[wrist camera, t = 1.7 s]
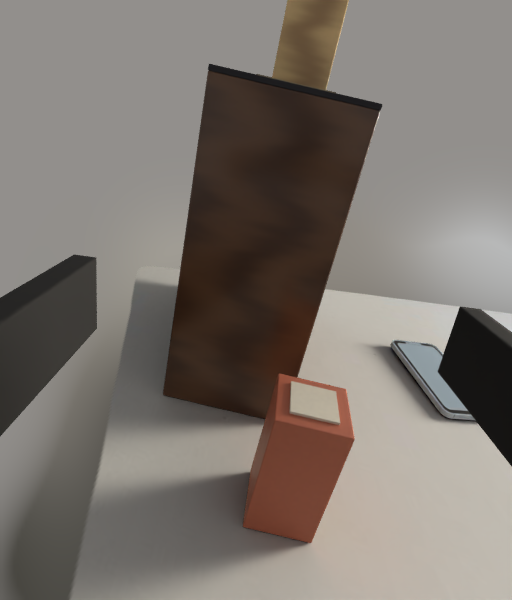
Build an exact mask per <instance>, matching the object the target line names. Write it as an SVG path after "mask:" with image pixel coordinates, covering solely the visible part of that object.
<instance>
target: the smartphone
mask: <svg viewBox="0 0 512 600" xmlns="http://www.w3.org/2000/svg"><path fill="white" fill-rule="evenodd" d="M391 347H392V348H393V350H394V351H395V352H396V354H397V355H398V357H399V358H400V359H401V361H402V362H403V363H404V365H405V366H406V367H407V369H408V370H409V371H410V373H411V374H412V375H413V377H414V378H415V380H416V381H417V382H418V384H419V385H420V386H421V388H422V389H423V390H424V392H425V393H426V394H427V396H428V397H429V398H430V400H431V401H432V402H433V404H434V405H435V407H436V408H437V409H438V411H439V412H440V413H441V414H442V415H444V416H445V417H448V418H451V419H464V420H475V419H474V418H473V416H472V415H471V414H470V413H469V411H468V410H467V409H466V408H465V406H464V405H463V404H462V402H461V401H460V400H459V399H458V397H457V396H456V395H455V394H454V392H453V391H452V390H451V388H450V387H449V386H448V385H447V383H446V382H445V381H444V380H443V378H442V377H441V376H440V375H439V373H438V369H439V366H440V363H441V360H442V357H443V353H442V352H441V351H440V350H439V349H438V348H437V347H436V346H434V345H432V344H428V343H420V342H411V341H402V340H393V341H392V343H391Z"/></svg>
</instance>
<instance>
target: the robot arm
mask: <svg viewBox="0 0 512 600" xmlns="http://www.w3.org/2000/svg"><path fill="white" fill-rule="evenodd" d="M96 304H97V303H96V258H95V257H88V256H80V255H73V256H71V257H69V258H68V259H66V260H64V261H62V262H61V263H59V264H57V265H56V266H54V267H52V268H51V269H49V270H47V271H46V272H44V273H42V274H40V275H38V276H37V277H35V278H34V279H32V280H30V281H28V282H26V283H25V284H23V285H21V286H20V287H18V288H16V289H14V290H13V291H11V292H9V293H8V294H6V295H4V296H3V297H1V298H0V436H1V435H2V434H3V433H4V431H5V430H6V429H7V428H8V427H9V426H10V424H12V422H13V421H14V420H15V419H16V418H17V417H18V416H19V415H20V414H21V412H22V411H23V410H24V409H25V408H26V407H27V406H28V405H29V404H30V402H31V401H32V400H33V399H34V398H35V397H36V396H37V394H38V393H39V392H40V391H41V390H42V389H43V388H44V387H45V386H46V385H47V383H48V382H49V381H50V380H51V379H52V378H53V377H54V376H55V374H56V373H57V372H58V371H59V370H60V369H61V368H62V367H63V366H64V364H65V363H66V362H67V361H68V360H69V359H70V358H71V357H72V356H73V354H74V353H75V352H76V351H77V350H78V349H79V348H80V346H81V345H82V344H83V343H84V342H85V341H86V340H87V339H88V337H90V335H91V334H92V333H93V332H94V331H95V330H96V329H97V323H96V322H97V315H96V314H97V311H96V307H97V305H96ZM438 373H439V375H440V376H441V377H442V378H443V380H444V381H445V382H446V383H447V385H448V386H449V387H450V388H451V390H452V391H453V392H454V394H455V395H456V396H457V397H458V399H459V400H460V401H461V402H462V404H463V405H464V406H465V408H466V409H467V410H468V411H469V413H470V414H471V415H472V416H473V418H474V419H475V420H476V422H477V423H478V424H479V425H480V427H481V428H482V429H483V430H484V432H485V433H486V434H487V435H488V437H489V438H490V439H491V441H492V442H493V443H494V444H495V446H496V447H497V448H498V449H499V451H500V452H501V453H502V455H503V456H504V457H505V458H506V460H507V461H508V462H509V463H510V465H511V466H512V332H511V331H509V330H508V329H506V328H505V327H504V326H502V325H501V324H500V323H498V322H497V321H496V320H494V319H493V318H492V317H490V316H489V315H488V314H486V313H485V312H483V311H482V310H481V309H474V308H466V307H460V308H459V311H458V314H457V317H456V320H455V323H454V326H453V329H452V331H451V334H450V337H449V340H448V343H447V346H446V349H445V351H444V354H443V357H442V360H441V363H440V366H439V369H438Z"/></svg>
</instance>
